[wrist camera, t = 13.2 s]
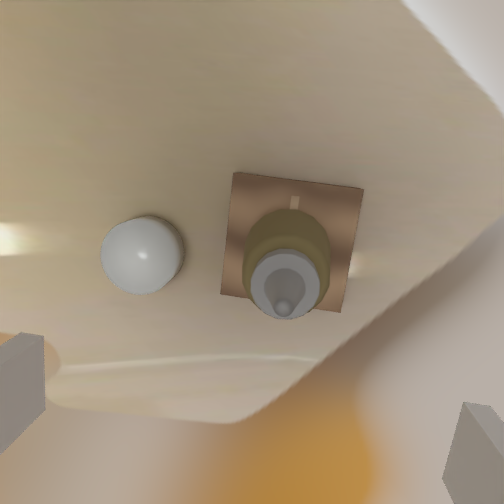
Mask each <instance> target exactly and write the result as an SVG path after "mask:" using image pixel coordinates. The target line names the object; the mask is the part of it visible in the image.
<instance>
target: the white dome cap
mask: <svg viewBox="0 0 504 504" xmlns="http://www.w3.org/2000/svg"><path fill="white" fill-rule="evenodd" d="M183 261H184V245H183V242H182V239H181V237H180V235H179V233H178V232H177V230H176V229H175V228H174V227H173V226H172V225H171V224H169V223H168V222H167V221H165V220H163V219H160V218H158V217H153V216H143V217H139V218H135V219H132V220H129V221H126V222H123V223H120V224H118V225H116V226H115V227H114V228H112V229H111V230H110V231H109V232H108V234H107V235H106V237H105V238H104V240H103V243H102V246H101V263H102V266H103V269H104V271H105V273H106V275H107V277H108V278H109V279H110V280H111V282H112V283H113V284H115V285H116V286H117V287H118V288H120V289H121V290H123V291H125V292H128V293H131V294H137V295H145V294H150V293H153V292H156V291H158V290H159V289H161V288H162V287H163V286H164V285H165V284H167V283H168V282H169V281H170V280H171V279H172V278H173V277H174V276H175V275H176V274H177V273H178V271H179V270H180V268H181V266H182V264H183Z"/></svg>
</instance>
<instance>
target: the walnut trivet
mask: <svg viewBox="0 0 504 504" xmlns="http://www.w3.org/2000/svg"><path fill="white" fill-rule="evenodd" d="M363 192H364V190H363V189H360V188H354V187H346V186H338V185H330V184H323V183H315V182H307V181H299V180H292V179H284V178H276V177H268V176H260V175H253V174H245V173H233V182H232V191H231V200H230V209H229V219H228V228H227V237H226V246H225V256H224V265H223V274H222V283H221V293H220V294H222V295H229V296H235V297H242V298H248V295H247V293H246V290H245V288H244V286H243V283H242V264H243V256H244V248H245V241H246V239H247V237H248V234H249V232H250V230H251V227H252V226H253V225H254V224H255V223H256V222H257V221H258V220H260V219H261V218H262V217H263V216H264V215H266V214H269V213H271V212H274V211H276V210H279V209H297V210H299V211H302V212H304V213H306V214H309V215H311V216H313V217H314V218H315V219H316V220H317V221H318V222H319V223H320V224H321V225H322V226H323V227H324V229H325V231H326V233H327V236H328V239H329V241H330V244H331V262H330V286H329V288H328V290H327V292H326V294H325V296H324V298H323V300H322V301H321V302H320V303H319V304H318V305H317V306H316V307H314V308H313V309H320V310H326V311H333V312H339V313H341V308H342V302H343V297H344V292H345V287H346V281H347V276H348V271H349V265H350V260H351V255H352V250H353V244H354V239H355V234H356V229H357V223H358V218H359V213H360V207H361V202H362V197H363ZM248 299H249V298H248Z"/></svg>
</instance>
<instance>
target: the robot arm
mask: <svg viewBox="0 0 504 504" xmlns="http://www.w3.org/2000/svg"><path fill="white" fill-rule="evenodd" d="M44 411H45V374H44V336H41V335H34V334H28V333H22V332H21V333H19V334H18V335H16V336H15V337H13V338H12V339H10V340H8V341H7V342H5V343H3V344H2V345H1V346H0V454H1V453H3V452H4V450H6V448H8V447H9V445H11V444H12V443H13V442H14V441H15V440H16V439H17V438H18V437H19V436H20V435H21V434H22V433H23V432H24V430H26V429H27V428H28V427H29V426H30V425H31V424H32V423H33V422H34V420H36V418H38V417H39V416H40V415H41V414H42V413H43V412H44ZM442 479H443V481H444V484H445V486H446V488H447V490H448V492H449V494H450V496H451V498H452V500H453V503H454V504H504V422H503V421H502V420H501V419H500V417H499V416H498V415H497V414H496V412H495V411H494V410H493V409H492V408H491V406H487V405H480V404H473V403H467V402H463V405H462V409H461V412H460V416H459V420H458V423H457V427H456V430H455V434H454V438H453V441H452V445H451V448H450V452H449V455H448V459H447V463H446V466H445V470H444V473H443V477H442Z"/></svg>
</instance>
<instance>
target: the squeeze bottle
mask: <svg viewBox="0 0 504 504" xmlns="http://www.w3.org/2000/svg"><path fill="white" fill-rule="evenodd" d="M330 262H331V244H330V241H329V239H328V236H327V233H326V231H325V229H324V227H323V226H322V225H321V224H320V223H319V222H318V221H317V220H316V219H315V218H314V217H313V216H311V215H309V214H306V213H304V212H302V211H299V210H297V209H279V210H276V211H274V212H271V213H269V214H266V215H264V216H263V217H262V218H261V219H260V220H258V221H257V222H256V223H255V224H254V225H253V226H252V227H251V230H250V232H249V234H248V237H247V239H246V241H245V248H244V256H243V264H242V283H243V286H244V288H245V290H246V293H247V295H248V298H249V299H250V300H251V301H252V302H253V303H254V304H255V305H256V306H257V307H258V308H259V309H260V310H262V311H263V312H264V313H265V314H267V315H270V316H272V317H274V318H277V319H294V318H297V317H300V316H303V315H304V314H305V313H308V312H310V311H311V310H312V309H313V308H314V307H316V306H317V305H318V304H319V303H320V302H321V301H322V300H323V298H324V296H325V294H326V292H327V290H328V288H329V286H330Z"/></svg>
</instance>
